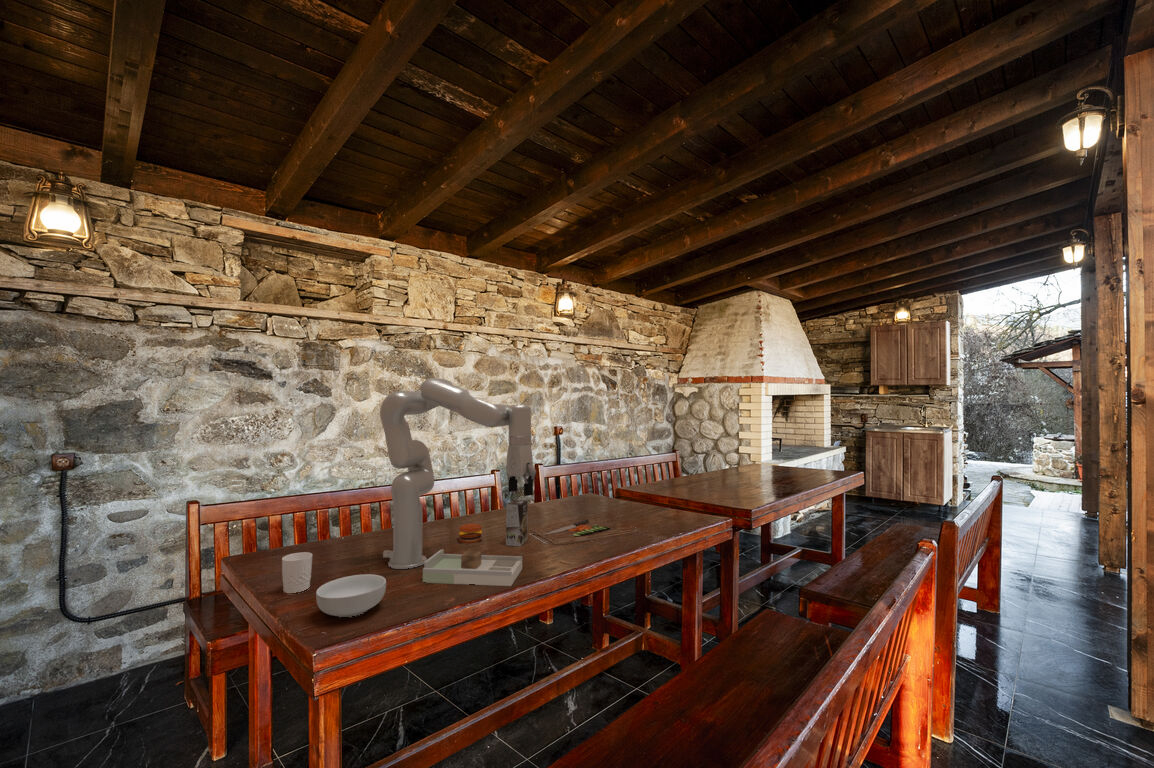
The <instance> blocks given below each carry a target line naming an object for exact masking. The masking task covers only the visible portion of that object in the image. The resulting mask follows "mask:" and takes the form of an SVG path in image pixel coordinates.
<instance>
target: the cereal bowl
mask: <svg viewBox="0 0 1154 768" xmlns="http://www.w3.org/2000/svg"><path fill="white" fill-rule="evenodd" d="M386 589H387V580H386V578H385V577H384V576H382V575H378V574H371V573H369V574H368V573H367V574H355V575H354V574H353V575H349V576H343V577H341V578H337V579H334V580H331V581H328V582H326V583H323V584H322V585H321V586H319V587H318V588H317V589H316V593H315V597H316V598H315V599H316V605H317V607H318V608H319V610H320V611H321V612H323V613H325V614H327V615H329V616H335V617H337V616H338V617H337V618H341V617H349V618H353V617H352V616H355V617H358V616H361V615H363V614H365V613H366V612H368V610H370V609H372V608H374V607H375V606H376V605H378V604H379V603H380V602H381V601H382V599H383V598H384V596H385V593H386ZM364 612H365V613H364ZM360 614H361V615H360ZM357 615H358V616H357Z"/></svg>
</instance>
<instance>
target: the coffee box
mask: <svg viewBox="0 0 1154 768" xmlns="http://www.w3.org/2000/svg"><path fill="white" fill-rule="evenodd" d="M528 502H529V501H528V500H526V499H525V500H523V499H518V500H515V499H513V500H512V501H510V502H508V503H506V505H505V507H506V508H505V546H509V547H510V546H512V547H522V545H524V544H525V543H526V542H527V541H528V535H529V532H528V530H529V529H528V528H529V527H528V520H529V519H528V517H529V516H528V509H529V508H528Z"/></svg>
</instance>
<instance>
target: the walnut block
mask: <svg viewBox="0 0 1154 768" xmlns="http://www.w3.org/2000/svg"><path fill="white" fill-rule="evenodd" d="M481 555H482V551H480V550H466V551H465V552H463V555H461V568H462V569H477V568H478V567H479V566H480V565H481Z"/></svg>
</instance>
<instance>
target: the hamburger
mask: <svg viewBox="0 0 1154 768" xmlns="http://www.w3.org/2000/svg"><path fill="white" fill-rule="evenodd" d="M482 530H483V527H482V526H481V525H480V524H478V523H473V522H471V523H465V524H463V525H461V526H459V527H458V537H459V538H458V542H459V543H462V542H463V543H462V544H475V543H474V542H476V543H478V541H479V542H481V541H482V538H483V537H482V534H483V531H482ZM480 540H481V541H480Z"/></svg>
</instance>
